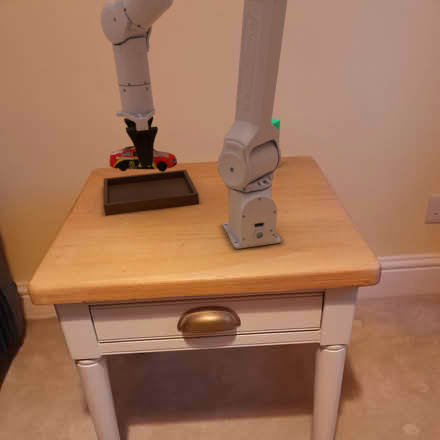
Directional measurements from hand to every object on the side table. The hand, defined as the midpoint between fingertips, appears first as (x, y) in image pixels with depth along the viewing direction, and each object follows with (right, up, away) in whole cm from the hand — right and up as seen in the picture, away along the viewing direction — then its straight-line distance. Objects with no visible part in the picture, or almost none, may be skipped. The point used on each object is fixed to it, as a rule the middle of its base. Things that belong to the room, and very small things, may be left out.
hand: (145, 160), depth 83 cm
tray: (0, -5, +7) cm, 9 cm away
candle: (+26, +5, +21) cm, 34 cm away
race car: (0, -1, +1) cm, 2 cm away
